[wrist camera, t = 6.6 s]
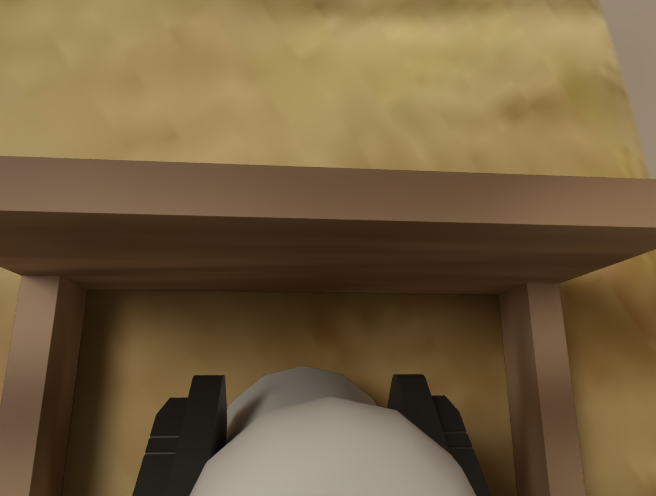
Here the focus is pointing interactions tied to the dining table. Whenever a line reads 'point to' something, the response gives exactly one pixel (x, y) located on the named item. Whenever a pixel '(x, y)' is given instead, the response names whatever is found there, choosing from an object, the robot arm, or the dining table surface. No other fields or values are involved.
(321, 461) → the salt shaker
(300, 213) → the wooden stand
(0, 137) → the dining table surface
